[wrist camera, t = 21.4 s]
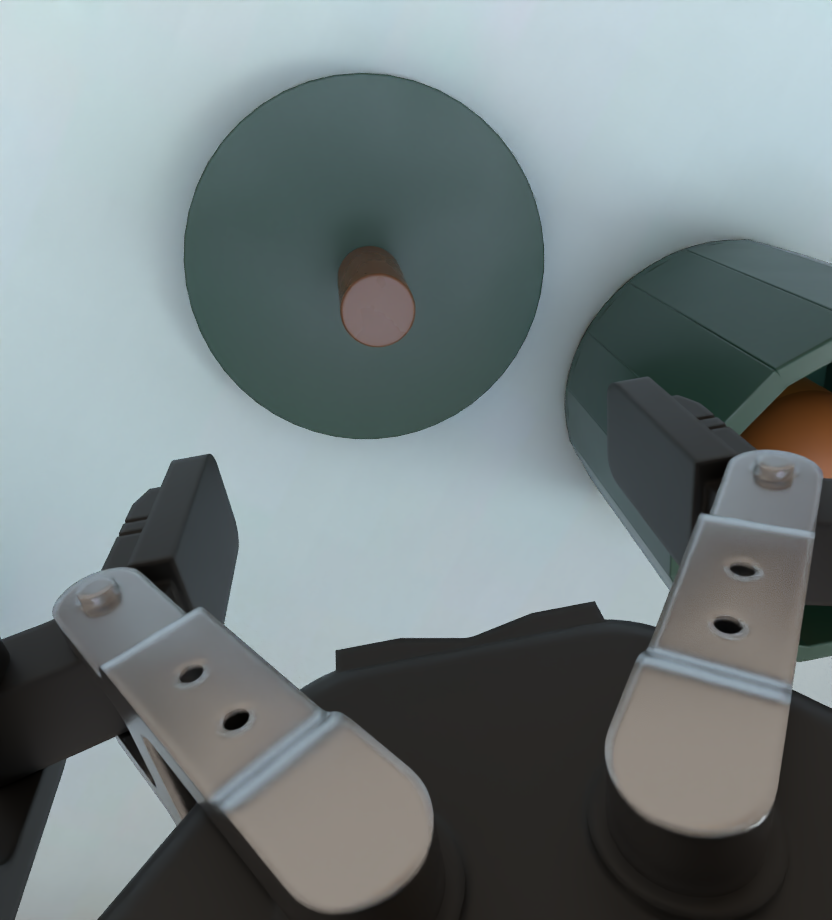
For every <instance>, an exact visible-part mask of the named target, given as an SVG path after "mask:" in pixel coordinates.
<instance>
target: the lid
mask: <svg viewBox="0 0 832 920" xmlns="http://www.w3.org/2000/svg"><path fill="white" fill-rule="evenodd" d="M184 268H185V278H186V287H187V291H188V295H189V299H190V304H191V308H192V311H193V314H194V316H195V319H196V321H197V324H198V327H199V329H200V332H201V334H202V336H203V338H204V339H205V341H206V343H207V345H208V347H209V349H210V351H211V352H212V354H213V355H214V357H215V358H216V360H217V361H218V362H219V364H220V365H221V367H222V368H223V370H224V371H225V372H226V373H227V374H228V375H229V376H230V378H231V379H232V380H233V381H234V382H235V383H236V384H237V385H238V386H239V387H240V388H241V389H242V390H243V391H244V392H245V393H246V394H248V395H249V396H250V397H251V398H252V399H253V400H255V401H256V402H257V403H258V404H260V405H261V406H263V407H264V408H266V409H267V410H269V411H270V412H272V413H273V414H275V415H277V416H279V417H281V418H283V419H285V420H287V421H289V422H291V423H293V424H295V425H297V426H300V427H303V428H306V429H308V430H311V431H314V432H318V433H322V434H326V435H330V436H335V437H343V438H352V439H379V438H388V437H396V436H401V435H405V434H409V433H413V432H417V431H420V430H423V429H425V428H428V427H431V426H433V425H436V424H438V423H440V422H442V421H444V420H446V419H448V418H450V417H452V416H454V415H456V414H457V413H459V412H460V411H462V410H463V409H465V408H466V407H468V406H469V405H471V404H472V403H473V402H475V401H476V400H477V399H478V398H479V397H480V396H481V395H483V394H484V393H485V392H486V391H487V390H488V389H489V388H490V387H491V386H492V385H493V384H494V383H495V382H496V381H497V380H498V379H499V378H500V376H501V375H502V374H503V373H504V372H505V370H506V369H507V368H508V366H509V365H510V363H511V362H512V361H513V359H514V358H515V356H516V355H517V353H518V351H519V349H520V348H521V346H522V344H523V342H524V340H525V338H526V337H527V334H528V332H529V329H530V327H531V324H532V322H533V319H534V317H535V313H536V310H537V306H538V302H539V298H540V295H541V288H542V280H543V273H544V244H543V235H542V226H541V221H540V217H539V213H538V209H537V205H536V201H535V199H534V196H533V193H532V191H531V188H530V186H529V183H528V181H527V178H526V176H525V175H524V173H523V171H522V169H521V167H520V166H519V164H518V162H517V160H516V158H515V157H514V155H513V154H512V153H511V151H510V150H509V149H508V147H507V146H506V144H505V143H504V142H503V140H502V139H501V138H500V136H499V135H498V134H497V133H496V132H495V131H494V130H493V129H492V128H491V127H490V126H489V125H488V124H487V123H486V122H485V121H484V120H483V119H482V118H481V117H479V116H478V115H477V114H475V113H474V112H473V111H471V110H470V109H469V108H467V107H466V106H465V105H464V104H462V103H461V102H459V101H457V100H456V99H454V98H452V97H450V96H448V95H447V94H445V93H443V92H441V91H439V90H437V89H435V88H432V87H430V86H427V85H424V84H422V83H419V82H416V81H414V80H410V79H405V78H400V77H396V76H391V75H385V74H370V73H354V74H342V75H333V76H329V77H325V78H320V79H316V80H312V81H308V82H306V83H303V84H301V85H298V86H296V87H293V88H291V89H288V90H286V91H283V92H282V93H280V94H278V95H277V96H275V97H273V98H272V99H270V100H268V101H267V102H265V103H263V104H262V105H260V106H259V107H258V108H256V109H255V110H254V111H253V112H252V113H250V114H249V115H248V116H247V117H245V118H244V119H243V120H242V121H241V122H240V123H239V124H238V125H237V126H236V127H235V128H234V129H233V130H232V131H231V132H230V134H229V135H228V136H227V137H226V138H225V139H224V140H223V141H222V143H221V144H220V146H219V147H218V149H217V150H216V152H215V153H214V155H213V156H212V158H211V159H210V161H209V162H208V164H207V166H206V168H205V170H204V172H203V174H202V176H201V178H200V180H199V182H198V185H197V187H196V190H195V193H194V196H193V199H192V203H191V206H190V209H189V213H188V219H187V225H186V230H185V238H184Z"/></svg>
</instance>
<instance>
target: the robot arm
mask: <svg viewBox="0 0 832 920" xmlns="http://www.w3.org/2000/svg"><path fill="white" fill-rule="evenodd" d="M607 455H608V463H609V467H610V471H611V474H612V476H613V478H614V480H615V482H616V483H617V485H618V486H619V487H620V489H621V490H622V491H623V493H624V494H625V495H626V497H627V498H628V499H629V500H630V502H631V503H632V504H633V506H634V507H635V508H636V510H637V511H638V512H639V514H640V515H641V516H642V518H643V519H644V520H645V522H646V523H647V524H648V526H649V527H650V528H651V530H652V531H653V532H654V534H655V535H656V536H657V538H658V539H659V540H660V542H661V543H662V544H663V546H664V547H665V548H666V550H667V551H668V552H669V554H670V555H671V556H672V558H673V559H674V560H675V561H676V563H677V564H678V565H679V568H678V571H677V574H676V576H675V579H674V581H673V584H672V587H671V589H670V592H669V594H668V597H667V600H666V602H665V605H664V607H663V610H662V613H661V615H660V618H659V620H658V623H657V626H656V627H654V626H650V625H647V624H642V623H637V622H631V621H622V620H604V618H603V616H602V614H601V612H600V610H599V609H598V607H597V605H596V603H595V601H594V602H588V603H583V604H578V605H573V606H567V607H562V608H557V609H551V610H546V611H541V612H536V613H531V614H529V615H526V616H524V617H521V618H519V619H516V620H514V621H511V622H509V623H506V624H504V625H501V626H499V627H496V628H494V629H491V630H489V631H486V632H484V633H481V634H479V635H476V636H473V637H469V638H399V639H393V640H388V641H383V642H378V643H372V644H367V645H362V646H357V647H351V648H346V649H341V650H336V671H334V672H331V673H329V674H326V675H324V676H322V677H321V678H319V679H317V680H315V681H313V682H311V683H310V684H308V685H306V686H305V687H303V688H302V689H300V690H299V689H298V688H297V687H296V686H295V685H293V684H292V683H291V682H290V681H289V680H288V679H286V678H285V677H284V676H283V675H282V674H281V673H279V672H278V671H277V670H276V669H275V668H274V667H272V666H271V665H270V664H269V663H268V662H267V661H265V660H264V659H263V658H262V657H261V656H260V655H258V654H257V653H256V652H255V651H254V650H253V649H251V648H250V647H249V646H248V645H247V644H246V643H244V642H243V641H242V640H241V639H240V638H239V637H237V636H236V635H235V634H234V633H233V632H232V631H230V630H229V629H228V628H227V627H226V626H225V625H224V621H225V616H226V610H227V605H228V600H229V595H230V590H231V585H232V580H233V575H234V570H235V564H236V559H237V554H238V547H239V540H238V531H237V526H236V521H235V518H234V515H233V512H232V509H231V506H230V502H229V499H228V496H227V493H226V490H225V487H224V484H223V481H222V478H221V475H220V471H219V468H218V465H217V463H216V460H215V459H214V457H213V456H212V455H211V454H206V455H200V456H195V457H189V458H184V459H178V460H173V461H172V462H171V464H170V466H169V469H168V471H167V473H166V476H165V478H164V480H163V483H162V485H161V487H158V488H152V489H149V490H148V491H147V492H146V493H145V494H144V495H143V496H142V497H140V498H139V499H138V500H137V501H136V502H135V503H134V504H133V505H132V507H131V509H130V511H129V513H128V515H127V517H126V520H125V524H123V526H122V528H121V530H120V532H119V537H117V538H116V540H115V543H114V545H113V547H112V549H111V551H110V553H109V555H108V557H107V559H106V561H105V563H104V566H103V568H102V570H101V571H99V572H97V573H94V574H91V575H89V576H87V577H85V578H83V579H81V580H80V581H78V582H76V583H75V584H73V585H72V586H70V587H69V588H68V589H67V590H66V591H64V592H63V594H62V595H61V596H60V597H59V598H58V599H57V601H56V602H55V604H54V607H53V611H52V613H53V617H54V619H53V620H51V621H49V622H46V623H44V624H41V625H39V626H36V627H34V628H31V629H28V630H26V631H23V632H20V633H18V634H15V635H13V636H10V637H7V638H5V639H1V638H0V920H15V917H16V914H17V911H18V908H19V905H20V902H21V898H22V895H23V892H24V889H25V886H26V883H27V880H28V877H29V874H30V871H31V868H32V865H33V862H34V859H35V855H36V852H37V849H38V846H39V843H40V840H41V837H42V834H43V831H44V828H45V825H46V822H47V819H48V816H49V812H50V809H51V806H52V803H53V800H54V797H55V794H56V791H57V788H58V785H59V782H60V779H61V776H62V773H63V769H64V766H65V763H66V758H68V757H71V756H73V755H75V754H77V753H80V752H82V751H84V750H86V749H89V748H91V747H93V746H95V745H98V744H100V743H102V742H104V741H106V740H109V739H111V738H113V737H116V739H117V741H118V743H119V744H120V745H121V747H122V748H123V750H124V751H125V752H126V754H127V755H128V757H129V758H130V759H131V761H132V762H133V763H134V765H135V766H136V768H137V769H138V770H139V772H140V773H141V775H142V776H143V777H144V779H145V780H146V781H147V783H148V784H149V786H150V787H151V788H152V790H153V791H154V793H155V794H156V795H157V797H158V798H159V800H160V801H161V802H162V804H163V805H164V807H165V808H166V809H167V811H168V813H169V814H170V816H171V817H172V819H173V821H174V822H175V824H176V826H177V827H176V828H175V829H174V830H173V831H172V832H171V834H170V835H169V836H168V837H167V838H166V839H165V841H164V842H163V843H162V844H161V845H160V847H159V848H158V849H157V850H156V851H155V852H154V854H153V855H152V856H151V857H150V858H149V859H148V861H147V862H146V863H145V864H144V865H143V867H142V868H141V869H140V870H139V871H138V872H137V874H136V875H135V876H134V877H133V878H132V879H131V881H130V882H129V883H128V884H127V885H126V887H125V888H124V889H123V890H122V891H121V892H120V894H119V895H118V896H117V897H116V898H115V900H114V901H113V902H112V903H111V904H110V905H109V907H108V908H107V909H106V910H105V911H104V912H103V914H102V915H101V916H100V917H99V918H98V920H832V708H829V707H827V706H825V705H823V704H821V703H819V702H817V701H815V700H813V699H811V698H809V697H807V696H805V695H802V694H800V693H798V692H796V691H794V690H792V686H793V679H794V672H795V666H796V659H797V652H798V646H799V639H800V632H801V626H802V619H803V612H804V606H805V605H819V606H832V478H823V472H822V470H821V468H820V467H819V466H818V465H817V464H816V463H815V462H813V461H811V460H810V459H808V458H806V457H803V456H801V455H798V454H795V453H791V452H786V451H780V450H757V449H756V448H755V447H753V446H752V445H751V444H750V443H748V442H747V441H746V440H745V439H744V438H742V437H741V436H740V435H739V434H737V433H736V432H735V431H734V430H733V429H731V428H730V427H726V424H725V423H724V422H723V421H721V420H720V419H719V418H718V417H715V416H714V414H713V413H712V412H710V411H709V410H708V409H707V408H706V407H704V406H703V405H702V404H701V403H698V402H696V401H693V400H690V399H688V398H685V397H682V396H679V395H674V396H671V395H670V394H668V393H667V392H666V391H665V390H664V389H663V388H662V387H660V386H659V385H658V384H657V383H656V382H655V381H653V380H652V379H651V378H650V377H642V378H636V379H630V380H625V381H619V382H614V383H611V384H610V385H609V387H608V390H607Z"/></svg>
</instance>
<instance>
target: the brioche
mask: <svg viewBox="0 0 832 920" xmlns="http://www.w3.org/2000/svg"><path fill="white" fill-rule="evenodd" d="M740 436H741V437H742V438H744V439H745V440H746V441H747V442H748V443H750V444H751V445H752V446H753V447H755V448H756V449H757V450H780V451H786V452H791V453H795V454H798V455H801V456H803V457H806V458H808V459H810V460H811V461H813V462H815V463H816V464H817V465H818V466H819V467H820V468H821V470H822V472H823V478H832V392H830V391H828V390H827V389H825V388H823V387H822V386H820V385H818V384H816V383H815V382H813V381H811V380H809V379H808V378H806V377H804V378H802V379H801V380H799V381H797V382H795V383H793V384H791V385H790V386H788V387H787V388H786V389H785V390H784V391H783V392H782V393H781V394H780V395H779V396H778V397H777V398H776V399H775V400H774V401H773V402H772V403H771V404H770V405H769V406H768V407H767V408H766V409H765V410H764V411H763V412H762V413H761V414H760V415H759V416H758V417H757V418H756V419H755V420H754V421H753V422H752V423H751V424H750V425H749V426H748V427H747V428H746V429H745V430H744V431H743V432H742V433H741V434H740Z"/></svg>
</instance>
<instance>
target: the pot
mask: <svg viewBox="0 0 832 920" xmlns="http://www.w3.org/2000/svg"><path fill="white" fill-rule="evenodd" d="M642 377H650V378H651V379H652V380H653V381H655V382H656V383H657V384H658V385H659V386H660V387H662V388H663V389H664V390H665V391H666V392H667V393H668V394H670V395H671V396H674V395H679V396H682V397H685V398H688V399H690V400H693V401H696V402H698V403H701V404H702V405H703V406H704V407H706V408H707V409H708V410H709V411H710V412H712V413H713V414H714V416H715V417H718V418H719V419H720V420H721V421H723V422H724V423H725V424H726V427H730V428H731V429H733V430H734V431H735V432H736V433H737V434H739V435H740V434H741V433H742V432H743V431H744V430H745V429H746V428H747V427H748V426H749V425H750V424H751V423H752V422H753V421H754V420H755V419H756V418H757V417H758V416H759V415H760V414H761V413H762V412H763V411H764V410H765V409H766V408H767V407H768V406H769V405H770V404H771V403H772V402H773V401H774V400H775V399H776V398H777V397H778V396H779V395H780V394H781V393H782V392H783V391H784V390H785V389H786V388H787V387H788V386H790V385H791V384H793V383H795V382H797V381H799V380H801V379H802V378H804V377H806V378H808V379H809V380H811V381H813V382H815V383H816V384H818V385H820V386H822V387H823V388H825V389H827V390H828V391H830V392H832V264H831V263H828V262H825V261H821V260H818V259H815V258H812V257H809V256H806V255H803V254H800V253H796V252H793V251H789V250H785V249H782V248H778V247H774V246H771V245H768V244H764V243H760V242H756V241H753V240H749V239H748V240H747V239H744V240H725V241H716V242H709V243H705V244H700V245H696V246H692V247H689V248H687V249H684V250H681V251H679V252H676V253H673V254H671V255H669V256H667V257H665V258H663V259H661V260H659V261H658V262H656V263H654V264H652V265H650V266H649V267H648V268H646V269H645V270H643V271H642V272H640V273H639V274H637V275H636V276H634V277H633V278H632V279H631V280H630V281H629V282H627V283H626V284H625V285H624V286H623V287H622V288H620V289H619V290H618V291H617V292H616V293H615V294H614V295H613V297H612V298H611V299H610V300H609V301H608V302H607V303H606V304H605V305H604V306H603V308H602V309H601V310H600V312H599V313H598V314H597V316H596V317H595V318H594V320H593V321H592V323H591V324H590V326H589V328H588V329H587V331H586V333H585V334H584V336H583V338H582V340H581V342H580V344H579V347H578V349H577V351H576V353H575V356H574V358H573V362H572V365H571V368H570V372H569V375H568V381H567V387H566V396H565V413H566V422H567V428H568V432H569V438H570V441H571V443H572V445H573V447H574V449H575V451H576V454H577V456H578V457H579V459H580V460H581V462H582V463H583V465H584V467H585V469H586V471H587V473H588V475H589V476H590V478H591V480H592V481H593V483H594V484H595V485H596V487H597V488H598V490H599V491H600V492H601V494H602V495H603V497H604V498H605V500H606V501H607V502H608V504H609V505H610V507H611V508H612V509H613V511H614V512H615V514H616V515H617V517H618V518H619V519H620V521H621V522H622V524H623V525H624V526H625V528H626V529H627V531H628V532H629V534H630V535H631V536H632V538H633V539H634V541H635V542H636V543H637V545H638V546H639V548H640V549H641V551H642V552H643V553H644V555H645V556H646V558H647V559H648V560H649V562H650V563H651V565H652V566H653V568H654V569H655V570H656V572H657V573H658V575H659V576H660V577H661V579H662V580H663V582H664V583H665V585H666V586H667V587H668V589H669V590H670V589H671V587H672V584H673V581H674V579H675V576H676V574H677V571H678V568H679V565H678V564H677V563H676V561H675V560H674V559H673V558H672V556H671V555H670V554H669V552H668V551H667V550H666V548H665V547H664V546H663V544H662V543H661V542H660V540H659V539H658V538H657V536H656V535H655V534H654V532H653V531H652V530H651V528H650V527H649V526H648V524H647V523H646V522H645V520H644V519H643V518H642V516H641V515H640V514H639V512H638V511H637V510H636V508H635V507H634V506H633V504H632V503H631V502H630V500H629V499H628V498H627V497H626V495H625V494H624V493H623V491H622V490H621V489H620V487H619V486H618V485H617V483H616V482H615V480H614V478H613V476H612V474H611V471H610V467H609V463H608V455H607V390H608V387H609V385H610V384H611V383H614V382H619V381H625V380H630V379H636V378H642ZM828 656H832V606H819V605H805V606H804V612H803V619H802V626H801V632H800V639H799V646H798V652H797V659H796V662H802V661H808V660H813V659H818V658H823V657H828Z"/></svg>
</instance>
